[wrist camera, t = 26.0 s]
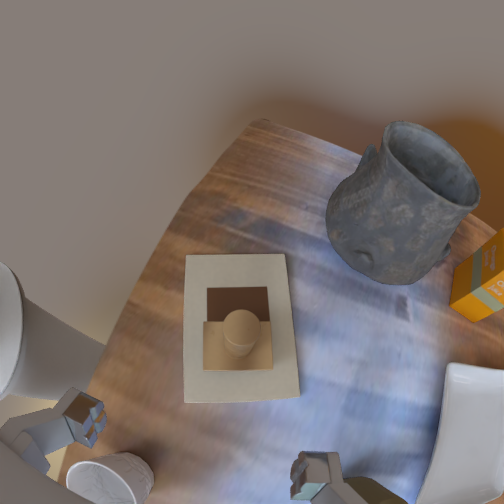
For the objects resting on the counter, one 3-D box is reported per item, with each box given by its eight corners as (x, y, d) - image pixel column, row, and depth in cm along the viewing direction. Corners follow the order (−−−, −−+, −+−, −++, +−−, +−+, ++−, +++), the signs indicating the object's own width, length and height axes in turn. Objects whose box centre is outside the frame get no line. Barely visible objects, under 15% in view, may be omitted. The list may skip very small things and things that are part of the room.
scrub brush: (205, 372, 31) (193, 361, 20) (205, 329, 34) (194, 293, 22) (268, 372, 32) (292, 360, 20) (266, 328, 34) (286, 293, 23)
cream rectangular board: (185, 402, 30) (184, 402, 29) (186, 258, 40) (185, 254, 39) (298, 397, 31) (300, 397, 30) (283, 256, 41) (284, 253, 40)
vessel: (420, 326, 37) (513, 269, 20) (298, 269, 40) (348, 169, 23) (431, 227, 47) (488, 159, 30) (336, 177, 50) (372, 90, 33)
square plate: (490, 494, 19) (503, 495, 15) (392, 522, 21) (406, 528, 17) (515, 374, 32) (528, 370, 29) (434, 364, 34) (449, 359, 30)
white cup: (114, 436, 26) (78, 446, 17) (168, 468, 25) (148, 491, 16) (95, 477, 22) (58, 494, 14) (147, 508, 21) (123, 537, 13)
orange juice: (448, 305, 39) (529, 249, 22) (454, 267, 43) (521, 207, 26) (474, 323, 38) (553, 276, 20) (478, 286, 42) (545, 234, 24)
